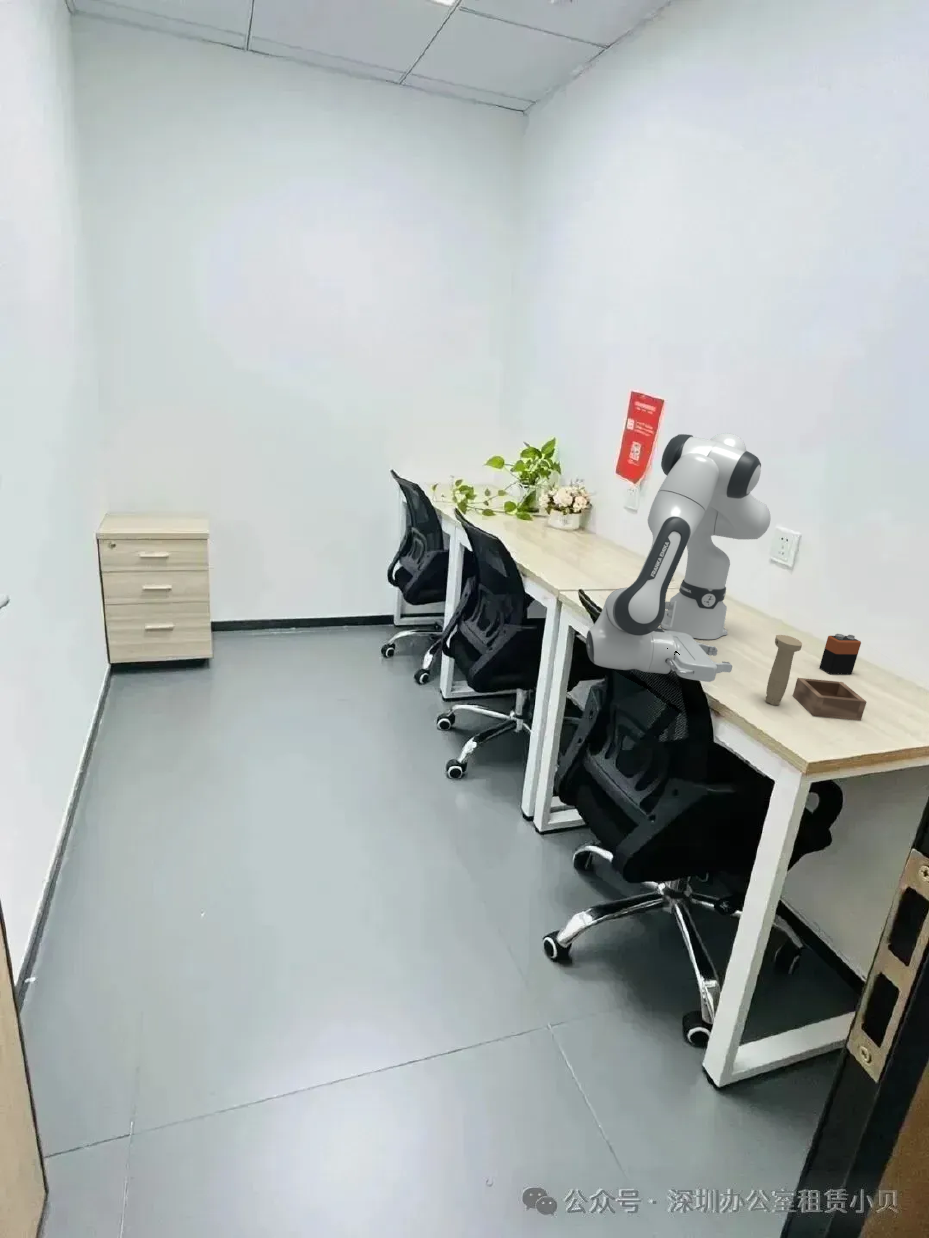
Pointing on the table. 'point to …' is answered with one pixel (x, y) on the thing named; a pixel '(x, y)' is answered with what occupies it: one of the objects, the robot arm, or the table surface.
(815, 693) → the brown square open box
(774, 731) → the table surface
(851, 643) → the battery
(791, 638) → the handle
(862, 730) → the table surface
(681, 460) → the robot arm
